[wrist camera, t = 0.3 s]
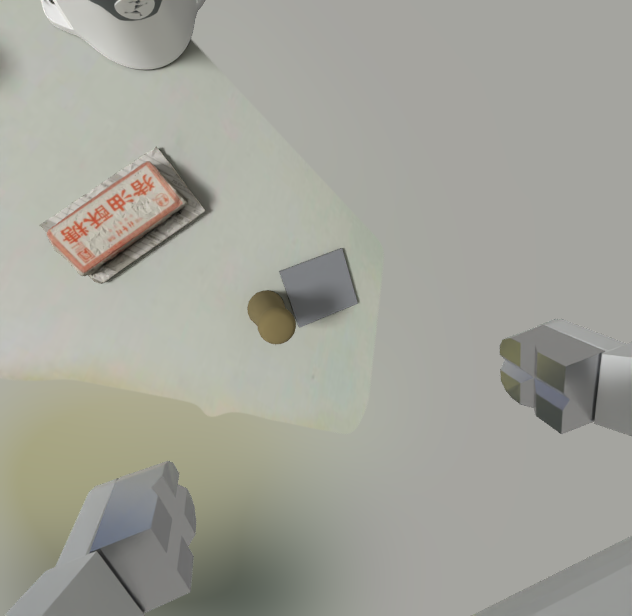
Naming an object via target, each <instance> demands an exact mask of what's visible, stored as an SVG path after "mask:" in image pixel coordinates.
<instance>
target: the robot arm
mask: <svg viewBox="0 0 632 616" xmlns="http://www.w3.org/2000/svg"><path fill="white" fill-rule="evenodd" d="M53 2H54V3H55V4H52V3H51V0H41V3H42V6H43V10H44V12H45V14H46V16H47V18H48V20H49V21H50V22H51V23H52V24H53V25H54V26H56V27H57V28H59V29H61V30H64V31H66V32H68V33H71V34H73V35H76V36H79V37H80V38H82V39H83V40H84V41H86V42H87V43H88V44H89V45H91V46H92V47H93V48H94V49H95V50H97V51H98V52H99V53H101V54H102V55H103V56H105V57H106V58H108V59H110V60H112V61H114V62H116V63H118V64H120V65H123V66H126V67H130V68H135V69H155V68H160V67H163V66H165V65H167V64H169V63H171V62H173V61H174V60H176V59H177V58H178V57H179V56H180V55H181V54H182V53H183V51H184V50H185V49H186V47H187V45H188V43H189V41H190V39H191V36H192V33H193V28H194V22H195V18H196V14H197V11H198V10H199V9H200V7H201V6H202V5H203V3H204V2H205V0H53ZM500 355H501V356H502V357H503V358H504V359H505V361H504V363H503V365H502V367H501V369H500V373H501V382H502V384H503V386H504V388H505V390H506V392H507V393H508V394H509V395H510V396H511V398H512V399H514V400H515V401H516V402H518V403H519V404H521V405H524V406H528V407H532V408H534V411H535V414H536V416H537V417H538V418H540V419H541V420H542V421H544V422H545V423H547V424H548V425H549V426H551V427H552V428H553V429H555V430H556V431H558V432H559V433H560V434H563V433H566V432H568V431H571V430H573V429H576V428H579V427H581V426H584V425H586V424H589V423H592V422H594V424H597V425H600V426H603V427H606V428H609V429H612V430H615V431H618V432H621V433H623V434H627V435H629V436H632V342H630V343H627V344H626V343H624V342H621V341H618V340H616V339H613V338H611V337H608V336H605V335H603V334H600V333H598V332H595V331H592V330H590V329H587V328H584V327H582V326H579V325H577V324H574V323H571V322H569V321H566V320H563V319H554V320H551V321H549V322H546V323H544V324H541V325H539V326H537V327H535V328H532V329H530V330H527V331H524V332H522V333H519V334H516V335H513V336H511V337H508V338H506V339H503V340H502V342H501V344H500ZM178 478H179V472H178V471H177V469H176V467H175V465H174V464H173V462H170V461H167V462H164V463H161V464H157V465H155V466H152V467H149V468H146V469H143V470H140V471H137V472H134V473H131V474H128V475H125V476H122V477H120V478H117V479H114V480H111V481H109V482H106V483H103V484H100V485H97V486H95V487H94V488H93V489H92V490H90V491H89V493H88V495H87V497H86V499H85V502H84V504H83V506H82V509H81V511H80V513H79V515H78V518H77V520H76V522H75V524H74V526H73V528H72V531H71V533H70V535H69V537H68V539H67V542H66V544H65V547H64V548H63V551H62V553H61V555H60V557H59V560H58V562H57V564H56V566H55V567H54V568H52V569H49V570H47V571H45V572H44V573H43V574H42V575H41V576H40V578H39V579H38V580H37V581H36V582H35V583H34V584H33V585H32V586H31V587H30V588H29V589H28V590H27V591H26V593H25V594H24V595H23V596H22V597H21V598H20V599H19V600H18V601H17V602H16V603H15V604H14V605H13V606H12V608H11V609H10V610H9V611H8V612H7V613H6V614H5V615H4V616H145V615H144V613H146V612H148V611H150V610H152V609H154V608H157V607H159V606H161V605H163V604H165V603H167V602H170V601H172V600H174V599H176V598H178V597H180V596H183V595H185V594H187V593H189V592H190V591H191V580H192V568H193V557H194V556H193V554H192V553H191V551H190V549H189V547H188V546H189V544H190V543H191V541H192V539H193V538H194V536H195V532H196V516H195V508H194V504H193V501H192V498H191V495H190V493H189V491H188V489H187V488H185V487H183V486H180V485H178ZM472 616H632V536H630V537H628V538H627V539H625V540H622V541H621V542H618V543H616V544H614V545H612V546H610V547H609V548H606V549H604V550H602V551H600V552H598V553H596V554H594V555H592V556H591V557H589V558H586V559H584V560H583V561H580V562H578V563H576V564H574V565H572V566H570V567H568V568H566V569H564V570H562V571H560V572H558V573H556V574H554V575H552V576H550V577H548V578H546V579H544V580H542V581H540V582H538V583H536V584H534V585H532V586H530V587H528V588H526V589H524V590H522V591H520V592H518V593H516V594H514V595H512V596H510V597H508V598H506V599H504V600H502V601H500V602H498V603H496V604H494V605H492V606H490V607H488V608H486V609H484V610H482V611H480V612H478V613H476V614H474V615H472Z"/></svg>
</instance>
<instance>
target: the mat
mask: <svg viewBox="0 0 632 616" xmlns="http://www.w3.org/2000/svg"><path fill="white" fill-rule="evenodd" d="M279 272H280V275H281V278H282V281H283V284H284V287H285V289H286V292H287V295H288V298H289V301H290V304H291V306H292V309H293V312H294V315H295V318H296V320H297V323H298V326H299V327H302V326H304V325H307V324H309V323H312V322H314V321H316V320H319V319H321V318H324V317H326V316H329V315H331V314H333V313H336V312H338V311H341V310H343V309H346V308H348V307H350V306H353V305H355V304H358V303H357V299H356V296H355V292H354V289H353V285H352V282H351V278H350V275H349V271H348V267H347V264H346V260H345V257H344V253H343V250H342V248H340V249H338V250H335V251H332V252H330V253H327V254H324V255H322V256H319V257H316V258H314V259H311V260H308V261H306V262H303V263H300V264H297V265H295V266H292V267H289V268H287V269H284V270H281V271H279Z"/></svg>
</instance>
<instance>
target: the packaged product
mask: <svg viewBox="0 0 632 616" xmlns="http://www.w3.org/2000/svg"><path fill="white" fill-rule="evenodd" d="M204 211H205V209H204V208H203V206H202V205H201V204H200V202H199V201H198V199H197V198H196V197H195V196H194V195H193V193H192V192H191V191H190V190H189V188H188V187H187V185H186V184H185V183H184V181H183V180H182V178H181V177H180V176H179V174H178V173H177V172H176V170H175V169H174V168H173V166H172V165H171V164H170V162H169V161H168V160H167V159H166V158H165V156H164V155H163V154H162V153H161V152H160V150H159V149H158V148H157V147H155V148H153V149H152V150H150V151H149V152H147V153H146V154H144V155H142V156H141V157H139V158H138V159H137V160H135V161H134V162H133V163H131V164H129V165H128V166H126V167H125V168H123V169H122V170H120V171H119V172H117V173H116V174H114V175H113V176H111V177H110V178H108V179H107V180H106V181H104V182H103V183H101V184H99V185H98V186H96V187H95V188H93V189H92V190H91V191H90V192H89V193H88V194H85V195H83V196H82V197H81V198H79V199H77V200H76V201H74V202H73V203H71V204H70V205H69V206H68V207H66V208H64V209H63V210H61V211H60V212H58V213H57V214H55V215H54V216H52V217H51V218H49V219H48V220H46V221H45V222H43V223H42V224H40V226H41V227H42V228H43V229H44V230H45V231H46V232H47V236H48V238H49V242H50V243H51V244H52V245H53V247H54V250H55V251H56V252H58V253H59V254H60V255H61V256H63V257H64V258H65V259H66V260H67V261H68V262H69V263H70V265H71V266H73V267H74V268H75V269H76V270H77V272H78V273H79V274H80V275H81V276H86V275H88V276H89V277H90V278H91V279H92V280H93V281H94V282H96V283H100V284H102V283H104V282H105V281H107V280H109V279H110V278H111V277H113V276H114V275H115V274H116V273H118V272H119V271H121V270H122V269H124V268H125V267H127V266H128V265H130V264H131V263H133V262H134V261H136V260H137V259H138V258H140V257H141V256H142V255H144V254H145V253H146V252H148V251H149V250H151V249H152V248H154V247H155V246H157V245H158V244H160V243H162V242H163V241H164V240H166V239H167V238H168V237H170V236H171V235H173V234H174V233H176V232H177V231H179V230H180V229H181V228H183V227H184V226H186V225H187V224H189V223H190V222H192V221H193V220H194V219H196V218H197V217H198V216H199V215H201V214H202V213H203V212H204Z"/></svg>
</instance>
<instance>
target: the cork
mask: <svg viewBox="0 0 632 616" xmlns="http://www.w3.org/2000/svg"><path fill="white" fill-rule="evenodd" d="M248 315H249V317H250V319H251V320H252V321H253V322H254V323H255V324H256V325H257V326H258V331H259V333H260V335H261V337H262V338H263V339H264V340H265V341H267V342H269V343H271V344H282V343H284V342H286V341H288V340H289V339H290V338H291V337H292V336H293V334H294V332H295V328H296V322H295V318H294V316H293V315H292V313H291V312H290V311H289V310H287V309H286V308H285V305H284V302H283V300H282V298H281V297H280V296H279V295H278V294H277V293H275V292H273V291H269V290H267V291H261V292H258V293H256V294H255V295H254V296H253V297H252V298H251V300H250V301H249V304H248Z"/></svg>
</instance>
